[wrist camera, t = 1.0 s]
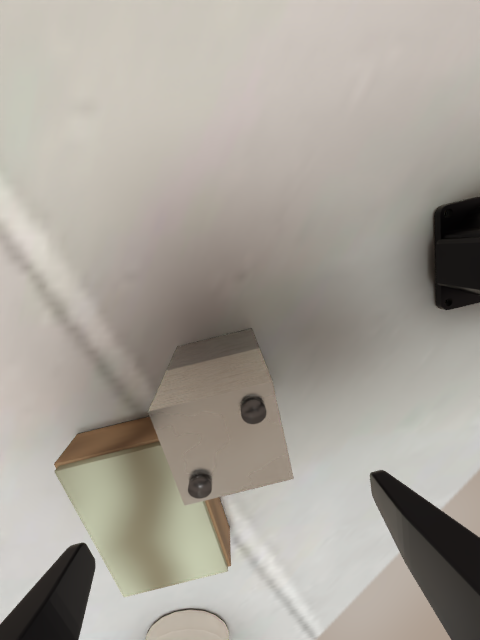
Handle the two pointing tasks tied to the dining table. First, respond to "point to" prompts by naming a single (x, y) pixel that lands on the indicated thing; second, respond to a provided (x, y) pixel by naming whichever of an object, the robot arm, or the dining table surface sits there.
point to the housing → (220, 419)
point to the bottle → (189, 627)
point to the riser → (141, 510)
